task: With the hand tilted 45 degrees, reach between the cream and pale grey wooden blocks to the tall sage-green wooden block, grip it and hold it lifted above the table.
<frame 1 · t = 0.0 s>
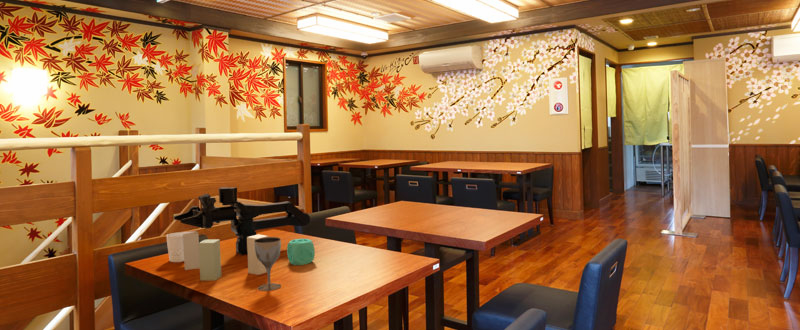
hand: (177, 219, 184), 17 cm above the table, tool horizontal, fingers open, 9 cm apart
white cup: (179, 260, 190), on the table
grey block: (192, 267, 180), on the table
decorative dice: (301, 262, 185), on the table
cream block: (259, 272, 173), on the table
sage block: (211, 278, 167), on the table
wine glass: (269, 287, 156), on the table
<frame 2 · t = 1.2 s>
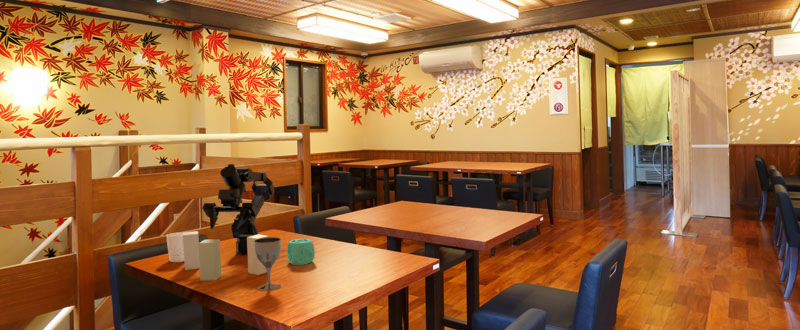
hand: (223, 228, 180), 14 cm above the table, tool tilted 45°, fingers open, 9 cm apart
nothing on the table moved.
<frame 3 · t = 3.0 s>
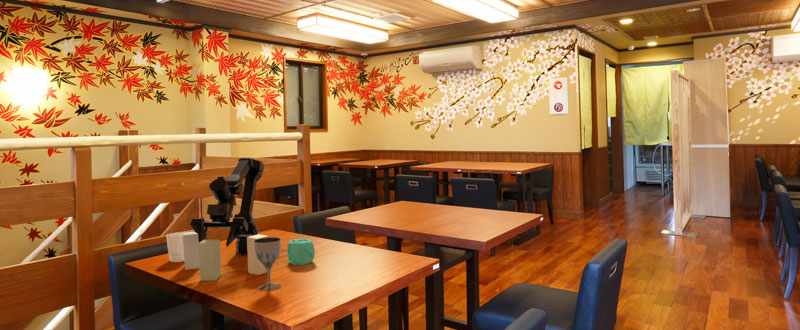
hand: (213, 246, 169), 10 cm above the table, tool tilted 45°, fingers open, 9 cm apart
nothing on the table moved.
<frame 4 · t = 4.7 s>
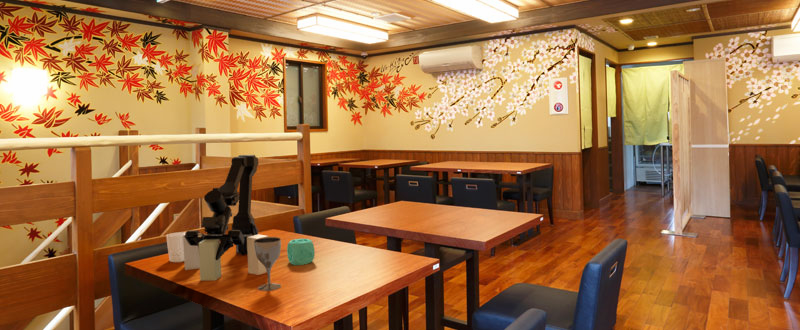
hand: (208, 259, 165), 7 cm above the table, tool tilted 45°, fingers closed on sage block, 5 cm apart
sage block: (211, 278, 166), on the table, touching gripper
everything else where it was.
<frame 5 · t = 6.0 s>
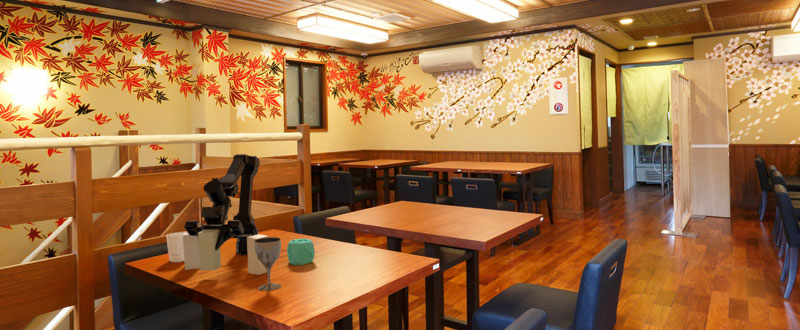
hand: (207, 249, 164), 10 cm above the table, tool tilted 45°, fingers closed on sage block, 5 cm apart
sage block: (210, 268, 166), point 3 cm above the table, touching gripper
everything else where it was.
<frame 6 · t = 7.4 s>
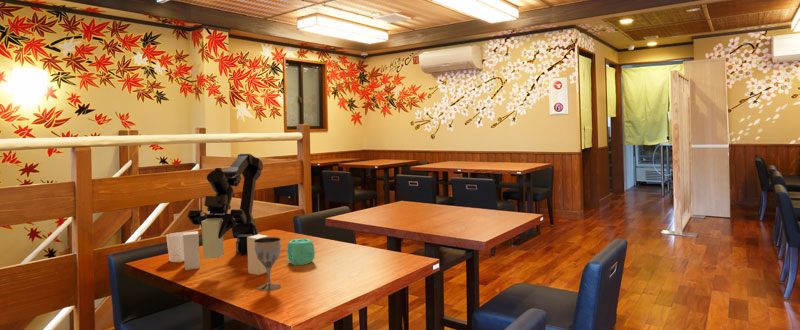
hand: (211, 238, 167), 13 cm above the table, tool tilted 45°, fingers closed on sage block, 5 cm apart
sage block: (213, 256, 169), point 7 cm above the table, touching gripper
everything else where it was.
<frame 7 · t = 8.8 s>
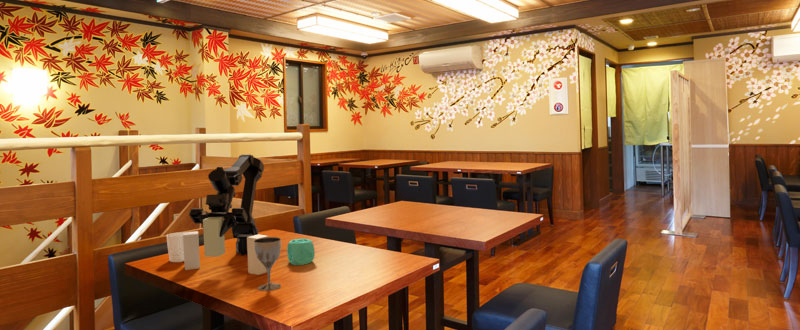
hand: (212, 236, 168), 13 cm above the table, tool tilted 45°, fingers closed on sage block, 5 cm apart
sage block: (215, 254, 170), point 7 cm above the table, touching gripper
everything else where it was.
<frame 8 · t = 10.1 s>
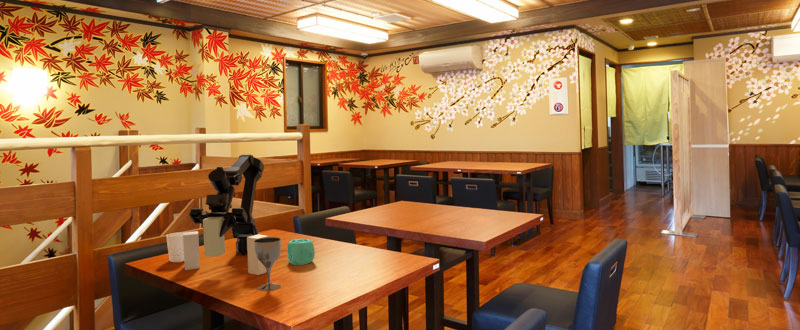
hand: (212, 236, 168), 13 cm above the table, tool tilted 45°, fingers closed on sage block, 5 cm apart
sage block: (215, 254, 170), point 7 cm above the table, touching gripper
everything else where it was.
at the end: the gripper is holding sage block; sage block point 6.9 cm above the table; grey block moved 0.0 cm from its start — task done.
